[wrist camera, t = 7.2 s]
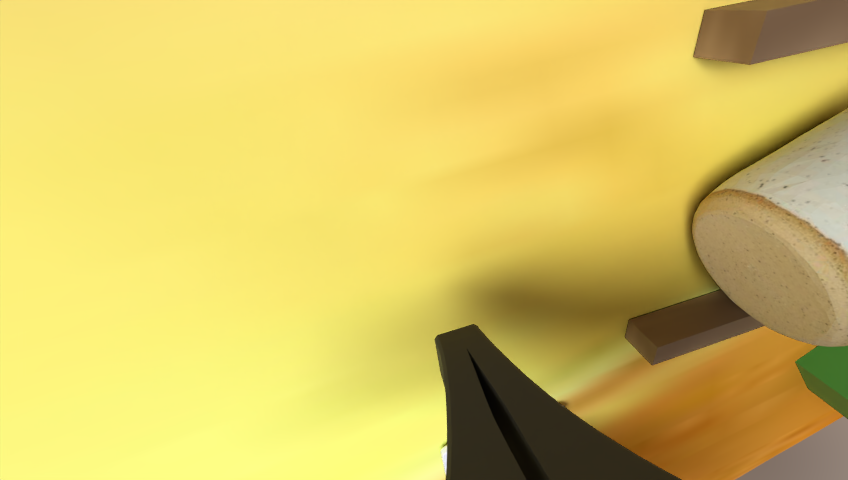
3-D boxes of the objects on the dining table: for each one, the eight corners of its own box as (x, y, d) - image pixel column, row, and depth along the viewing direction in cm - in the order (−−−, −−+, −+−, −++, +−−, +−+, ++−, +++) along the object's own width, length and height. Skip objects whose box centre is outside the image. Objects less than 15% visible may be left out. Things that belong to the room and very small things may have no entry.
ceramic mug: (669, 170, 15) (919, 289, 9) (853, 57, 15) (1251, 102, 9) (684, 311, 22) (839, 438, 15) (813, 235, 21) (1028, 335, 15)
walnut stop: (842, 264, 23) (883, 283, 22) (624, 337, 21) (652, 365, 19) (1044, -58, 14) (1140, -66, 13) (704, 9, 12) (767, 10, 10)
